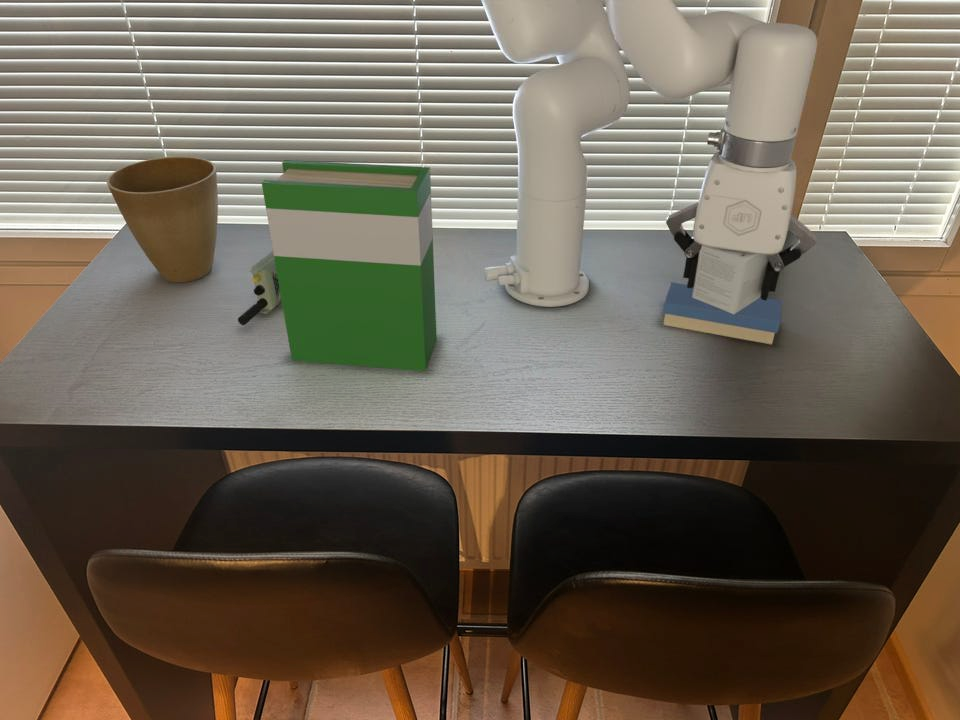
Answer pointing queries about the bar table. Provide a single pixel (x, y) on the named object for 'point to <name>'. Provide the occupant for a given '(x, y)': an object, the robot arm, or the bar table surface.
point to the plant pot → (171, 212)
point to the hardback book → (355, 262)
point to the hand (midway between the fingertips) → (727, 288)
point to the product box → (729, 278)
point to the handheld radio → (263, 288)
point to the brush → (722, 316)
